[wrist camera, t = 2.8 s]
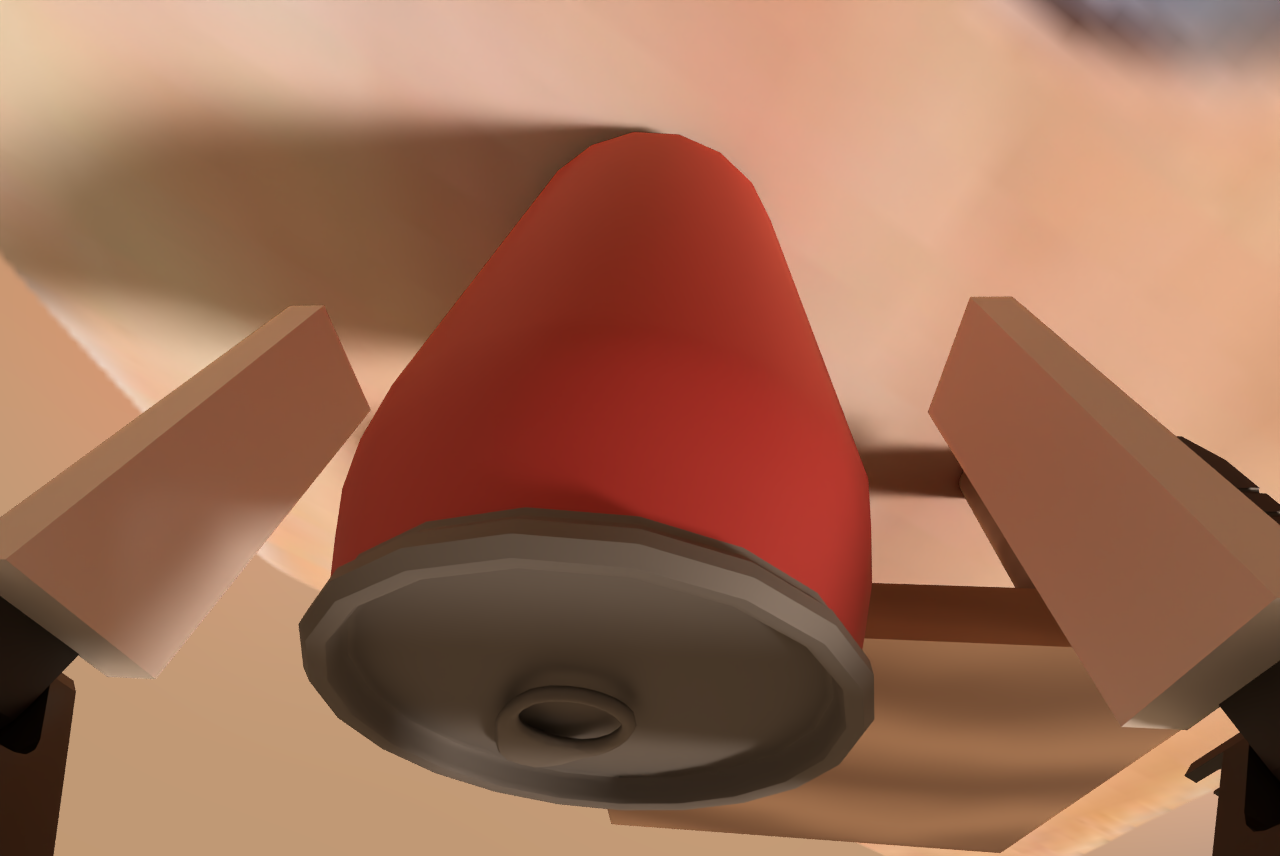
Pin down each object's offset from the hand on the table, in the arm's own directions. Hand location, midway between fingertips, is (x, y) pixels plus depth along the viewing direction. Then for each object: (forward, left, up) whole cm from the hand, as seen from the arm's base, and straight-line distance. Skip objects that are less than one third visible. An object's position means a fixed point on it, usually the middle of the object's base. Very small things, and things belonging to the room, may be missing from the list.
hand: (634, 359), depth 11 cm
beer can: (0, 0, -5) cm, 5 cm away
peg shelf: (+14, +6, -5) cm, 16 cm away
